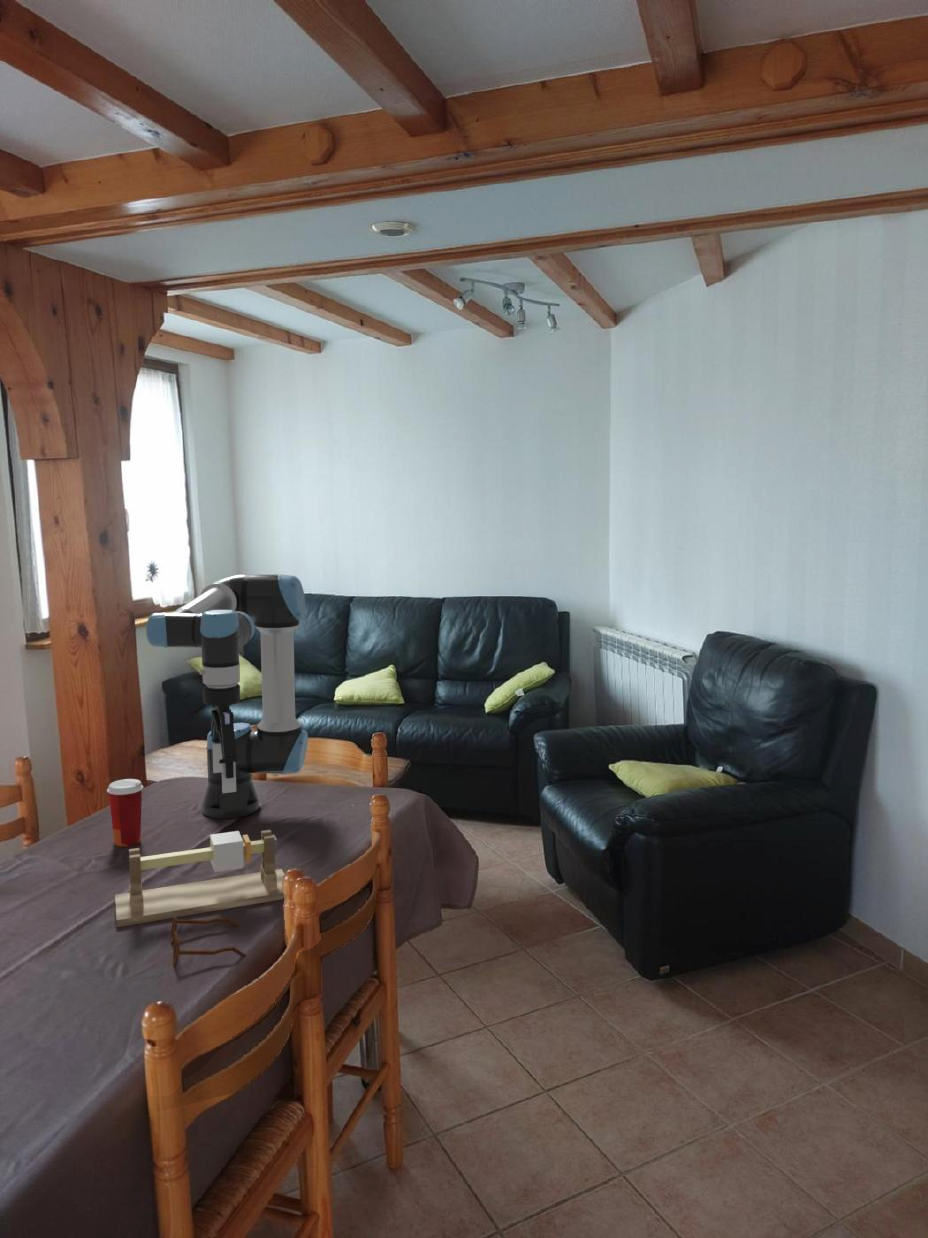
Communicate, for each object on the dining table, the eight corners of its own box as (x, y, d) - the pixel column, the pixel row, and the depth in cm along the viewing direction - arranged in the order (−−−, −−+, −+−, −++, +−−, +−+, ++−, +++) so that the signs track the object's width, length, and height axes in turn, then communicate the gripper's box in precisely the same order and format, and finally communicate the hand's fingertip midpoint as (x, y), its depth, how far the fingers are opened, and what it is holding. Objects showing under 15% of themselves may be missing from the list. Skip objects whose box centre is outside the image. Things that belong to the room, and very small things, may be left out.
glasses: (170, 937, 168) (169, 913, 167) (239, 926, 172) (238, 903, 172) (173, 972, 155) (172, 946, 155) (247, 959, 160) (246, 934, 159)
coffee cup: (151, 836, 216) (148, 778, 214) (135, 849, 208) (133, 789, 206) (119, 834, 217) (116, 777, 215) (102, 847, 209) (99, 788, 207)
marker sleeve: (210, 861, 185) (209, 834, 184) (239, 857, 187) (238, 830, 187) (214, 872, 180) (213, 845, 179) (243, 868, 182) (242, 841, 181)
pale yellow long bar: (132, 870, 178) (131, 850, 177) (274, 850, 189) (273, 831, 189) (133, 879, 174) (132, 858, 173) (278, 857, 185) (277, 838, 185)
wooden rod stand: (115, 901, 181) (112, 844, 179) (281, 875, 195) (280, 822, 193) (116, 927, 170) (114, 867, 169) (292, 897, 184) (292, 841, 182)
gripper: (195, 673, 190) (199, 766, 193) (210, 699, 167) (214, 803, 170) (230, 671, 193) (233, 762, 196) (250, 696, 170) (252, 798, 173)
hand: (224, 781), depth 183 cm, fingers open, 13 cm apart
